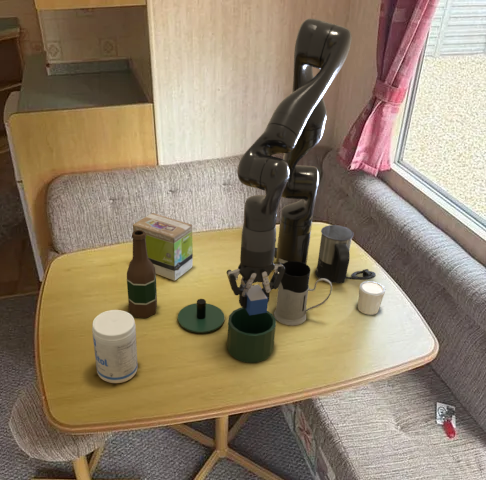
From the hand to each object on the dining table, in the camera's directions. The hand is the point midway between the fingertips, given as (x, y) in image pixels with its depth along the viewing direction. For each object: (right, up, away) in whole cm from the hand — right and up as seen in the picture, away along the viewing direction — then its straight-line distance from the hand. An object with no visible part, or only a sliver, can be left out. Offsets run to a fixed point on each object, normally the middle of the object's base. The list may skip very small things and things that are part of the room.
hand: (253, 304), depth 131 cm
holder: (+14, -5, +18) cm, 23 cm away
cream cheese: (0, 0, 0) cm, 0 cm away
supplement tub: (-32, -16, -1) cm, 36 cm away
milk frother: (+30, +6, +35) cm, 46 cm away
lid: (-13, -4, +16) cm, 21 cm away
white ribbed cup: (+33, -2, +22) cm, 40 cm away
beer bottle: (-28, -3, +19) cm, 35 cm away
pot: (0, -11, +7) cm, 13 cm away
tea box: (-24, +9, +38) cm, 46 cm away
